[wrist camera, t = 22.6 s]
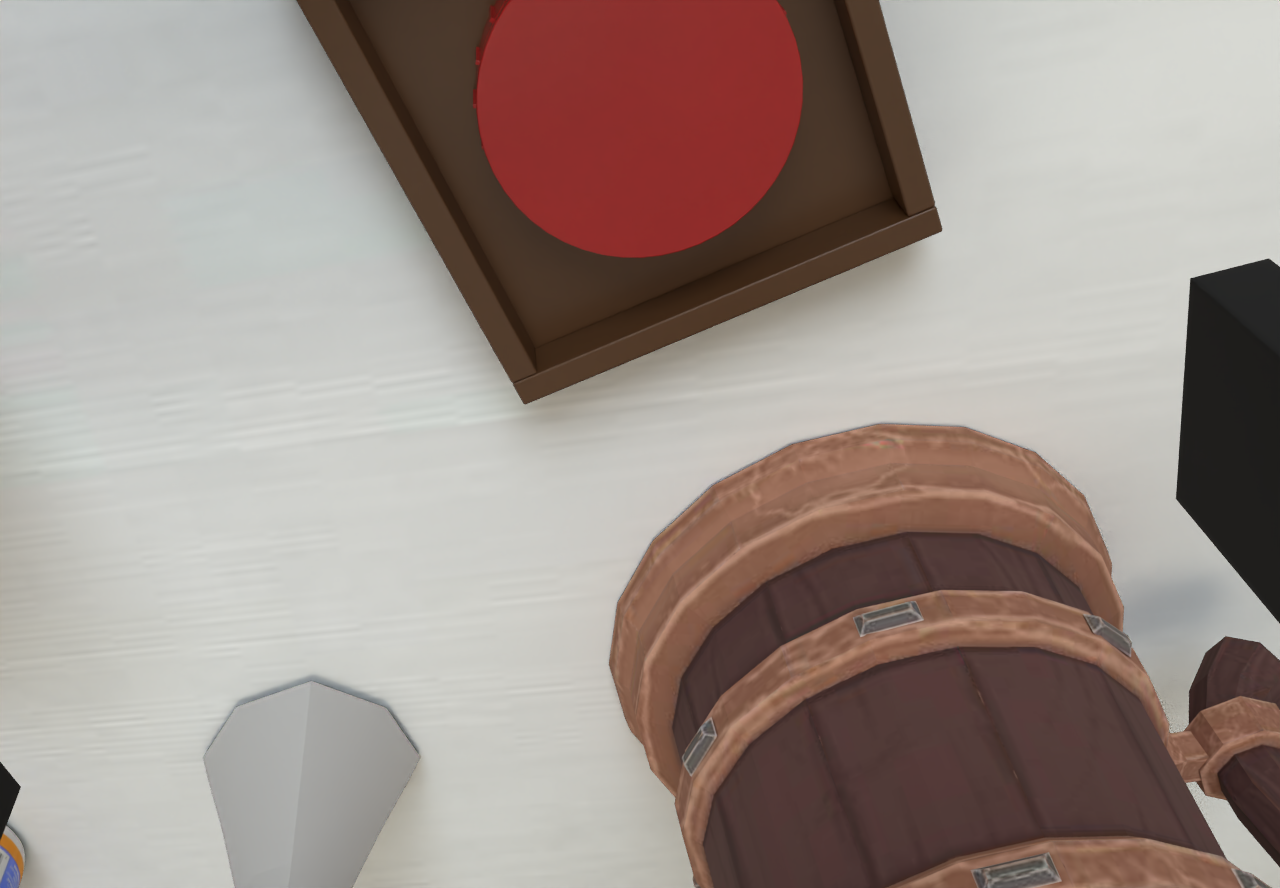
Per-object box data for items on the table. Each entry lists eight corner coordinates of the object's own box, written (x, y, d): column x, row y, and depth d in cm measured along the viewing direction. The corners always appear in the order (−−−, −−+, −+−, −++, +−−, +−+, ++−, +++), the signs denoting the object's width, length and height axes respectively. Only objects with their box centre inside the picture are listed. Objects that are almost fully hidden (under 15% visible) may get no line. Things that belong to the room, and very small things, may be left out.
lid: (757, 243, 33) (770, 271, 32) (465, 220, 32) (464, 248, 31) (820, -64, 29) (838, -49, 28) (484, -107, 28) (485, -93, 26)
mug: (1162, 762, 49) (1508, 1319, 33) (621, 828, 48) (699, 1451, 31) (1279, 383, 39) (1870, 920, 23) (593, 450, 37) (689, 1085, 21)
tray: (274, -78, 28) (261, -61, 26) (772, -319, 26) (792, -318, 25) (521, 370, 35) (524, 405, 34) (920, 203, 34) (943, 231, 32)
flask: (455, 751, 44) (451, 1004, 36) (316, 842, 46) (282, 1102, 38) (311, 647, 40) (269, 902, 32) (167, 751, 42) (93, 1016, 34)
